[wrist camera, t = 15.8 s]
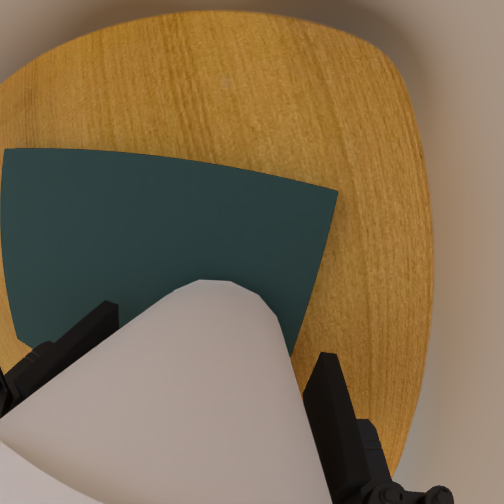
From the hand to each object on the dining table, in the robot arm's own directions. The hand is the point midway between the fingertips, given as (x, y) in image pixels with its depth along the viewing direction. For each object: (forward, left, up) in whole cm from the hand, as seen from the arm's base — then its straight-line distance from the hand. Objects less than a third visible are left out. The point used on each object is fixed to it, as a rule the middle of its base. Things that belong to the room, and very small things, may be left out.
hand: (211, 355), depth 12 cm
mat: (+7, 0, -3) cm, 8 cm away
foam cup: (0, 0, -2) cm, 2 cm away
